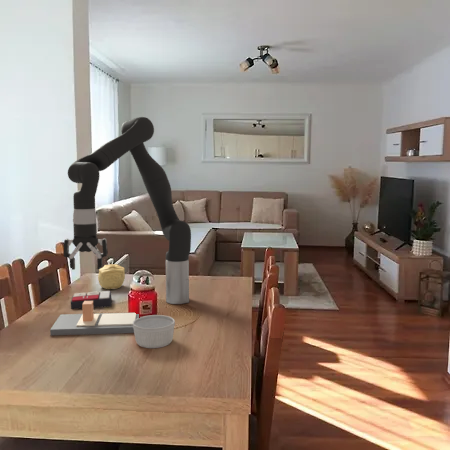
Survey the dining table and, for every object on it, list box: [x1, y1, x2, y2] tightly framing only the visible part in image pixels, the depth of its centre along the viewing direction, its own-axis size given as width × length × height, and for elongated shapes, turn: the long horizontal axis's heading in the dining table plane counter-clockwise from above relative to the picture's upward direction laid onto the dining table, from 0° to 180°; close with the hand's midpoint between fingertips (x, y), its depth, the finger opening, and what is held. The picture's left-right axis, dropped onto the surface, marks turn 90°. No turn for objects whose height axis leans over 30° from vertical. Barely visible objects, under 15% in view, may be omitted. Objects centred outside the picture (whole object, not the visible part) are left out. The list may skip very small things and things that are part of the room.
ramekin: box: [133, 314, 176, 349], centre depth 162 cm, size 13×13×7 cm
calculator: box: [70, 290, 112, 310], centre depth 203 cm, size 11×4×15 cm
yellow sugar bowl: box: [97, 263, 126, 290], centre depth 227 cm, size 12×12×11 cm
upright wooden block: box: [76, 301, 100, 326], centre depth 176 cm, size 6×12×6 cm, turn 6°
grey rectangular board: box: [49, 312, 139, 336], centre depth 176 cm, size 28×16×2 cm, turn 96°
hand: (86, 269), depth 174 cm, fingers open, 8 cm apart
